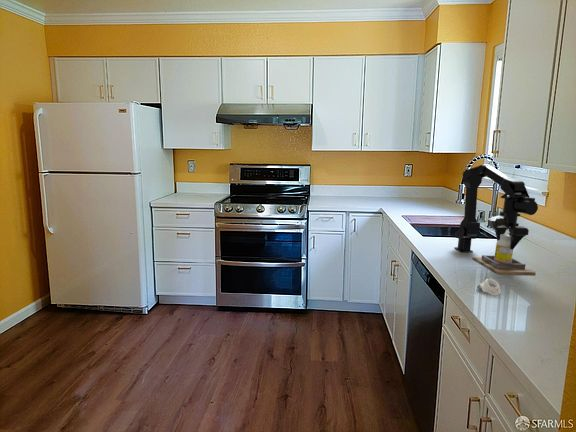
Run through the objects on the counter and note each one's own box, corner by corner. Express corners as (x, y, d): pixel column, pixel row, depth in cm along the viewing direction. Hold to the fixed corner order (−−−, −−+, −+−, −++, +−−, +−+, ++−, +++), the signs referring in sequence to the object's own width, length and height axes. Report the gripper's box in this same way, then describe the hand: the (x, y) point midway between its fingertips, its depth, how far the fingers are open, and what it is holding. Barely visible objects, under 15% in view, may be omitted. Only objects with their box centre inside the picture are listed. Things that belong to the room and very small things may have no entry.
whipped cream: (491, 290, 146) (493, 277, 146) (506, 295, 139) (508, 282, 139) (473, 290, 144) (475, 277, 143) (487, 295, 137) (489, 281, 137)
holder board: (472, 258, 181) (473, 252, 180) (506, 259, 182) (507, 253, 181) (497, 273, 161) (498, 266, 161) (535, 274, 162) (536, 267, 162)
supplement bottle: (495, 260, 176) (499, 232, 174) (512, 264, 172) (516, 235, 169) (491, 263, 171) (496, 235, 168) (509, 267, 167) (513, 238, 164)
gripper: (480, 206, 175) (475, 240, 178) (505, 214, 157) (499, 252, 160) (504, 206, 176) (499, 240, 179) (532, 215, 158) (526, 252, 161)
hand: (505, 246), depth 170 cm, fingers open, 9 cm apart
